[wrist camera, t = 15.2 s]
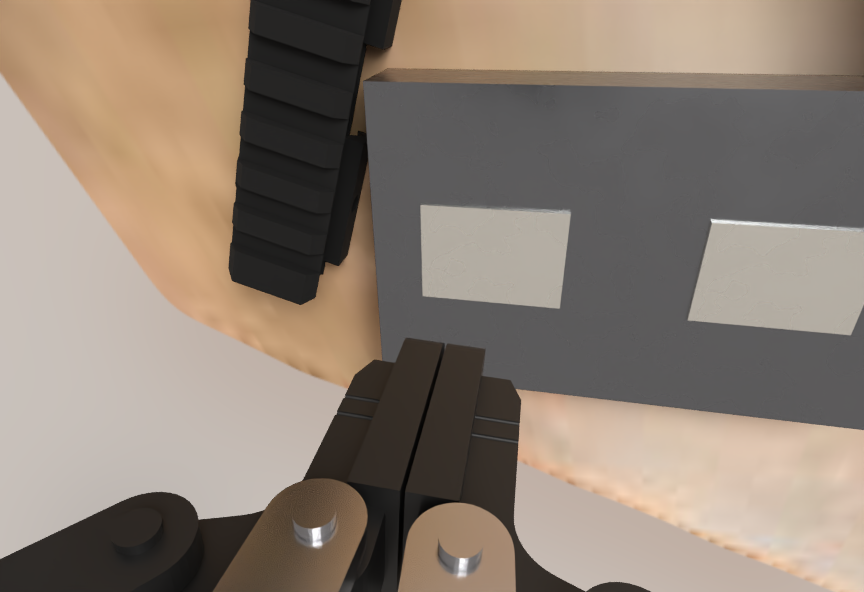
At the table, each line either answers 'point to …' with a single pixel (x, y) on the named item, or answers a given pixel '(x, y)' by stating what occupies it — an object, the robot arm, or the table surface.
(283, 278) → the rail mount
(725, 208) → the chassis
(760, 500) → the table surface
